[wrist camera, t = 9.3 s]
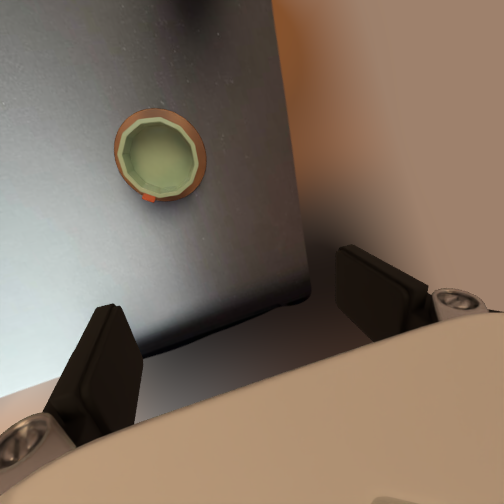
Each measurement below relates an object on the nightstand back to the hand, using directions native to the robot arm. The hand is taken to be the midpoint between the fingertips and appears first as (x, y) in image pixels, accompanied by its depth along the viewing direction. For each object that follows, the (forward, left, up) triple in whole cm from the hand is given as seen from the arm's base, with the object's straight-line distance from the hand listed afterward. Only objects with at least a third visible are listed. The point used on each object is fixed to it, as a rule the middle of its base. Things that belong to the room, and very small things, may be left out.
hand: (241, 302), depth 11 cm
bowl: (+2, -6, -24) cm, 24 cm away
